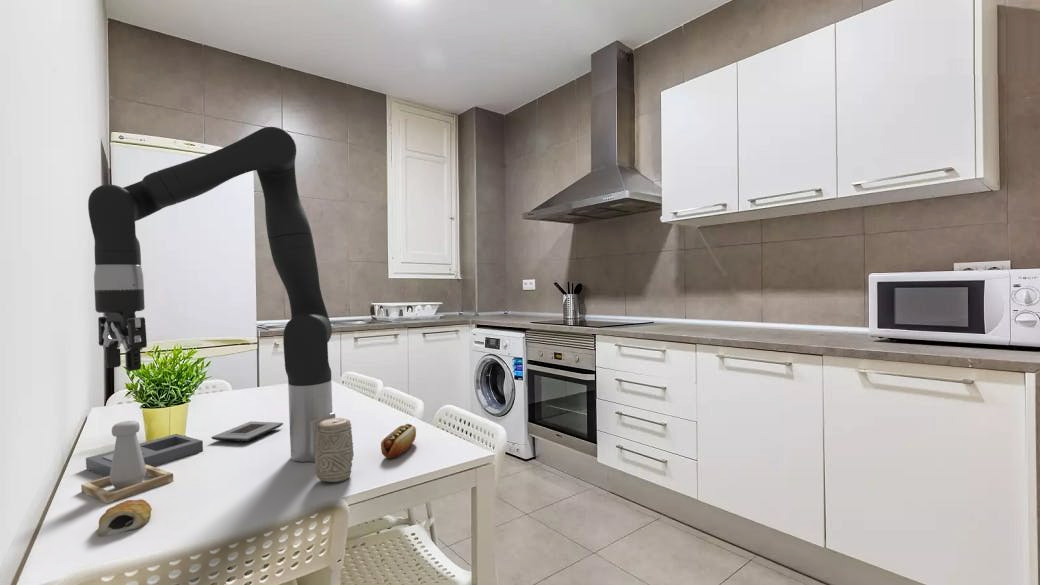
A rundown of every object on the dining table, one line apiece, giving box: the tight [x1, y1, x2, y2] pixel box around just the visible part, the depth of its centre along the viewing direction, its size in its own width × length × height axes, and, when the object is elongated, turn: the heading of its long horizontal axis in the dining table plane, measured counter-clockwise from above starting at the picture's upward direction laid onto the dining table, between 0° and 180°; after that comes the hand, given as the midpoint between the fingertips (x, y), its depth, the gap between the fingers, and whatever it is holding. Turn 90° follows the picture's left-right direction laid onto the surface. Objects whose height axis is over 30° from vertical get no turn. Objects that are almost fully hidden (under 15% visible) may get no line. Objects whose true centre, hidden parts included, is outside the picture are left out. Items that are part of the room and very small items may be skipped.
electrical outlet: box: [211, 421, 284, 442], centre depth 126 cm, size 13×10×2 cm
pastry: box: [96, 498, 152, 537], centre depth 81 cm, size 9×7×4 cm
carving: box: [314, 417, 355, 483], centre depth 97 cm, size 6×8×12 cm
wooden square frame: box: [80, 465, 174, 504], centre depth 96 cm, size 11×11×2 cm
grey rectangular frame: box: [85, 433, 204, 477], centre depth 110 cm, size 12×18×3 cm, turn 151°
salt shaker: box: [109, 420, 146, 491], centre depth 95 cm, size 6×6×13 cm
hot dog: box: [380, 423, 417, 459], centre depth 112 cm, size 5×13×5 cm, turn 171°
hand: (123, 368), depth 95 cm, fingers open, 8 cm apart
